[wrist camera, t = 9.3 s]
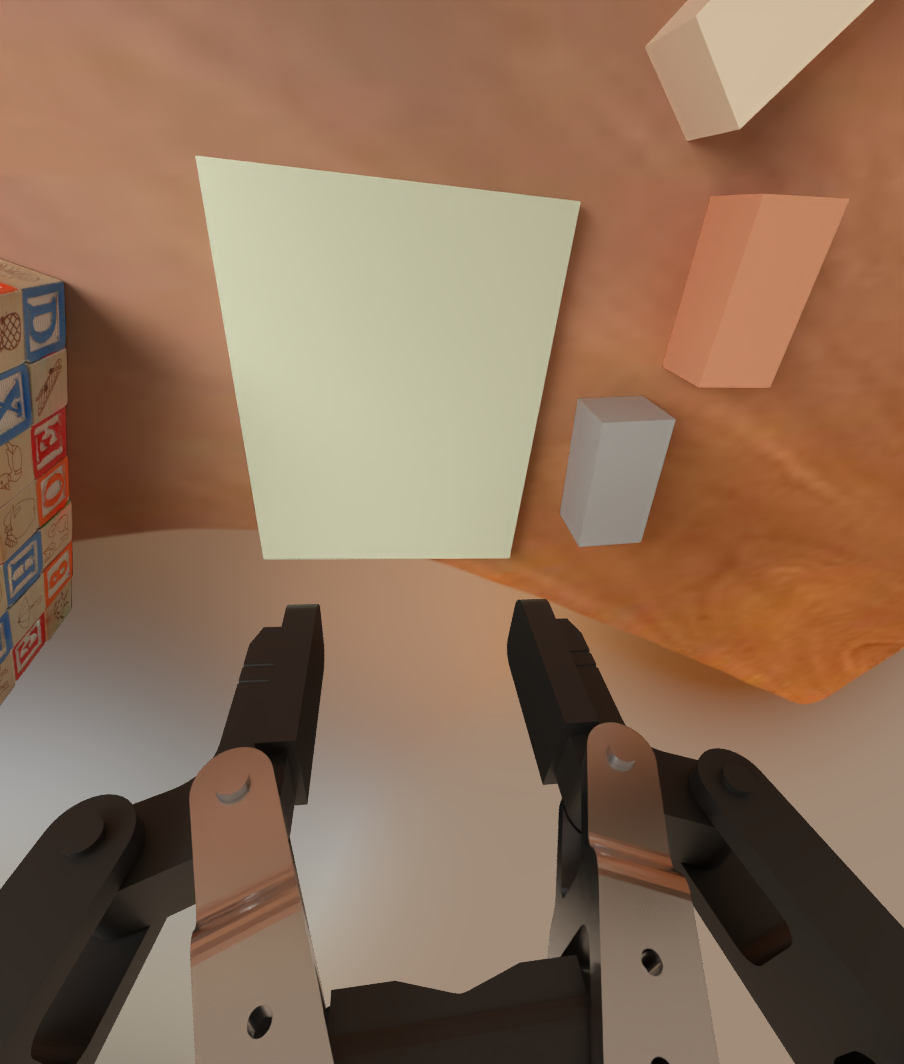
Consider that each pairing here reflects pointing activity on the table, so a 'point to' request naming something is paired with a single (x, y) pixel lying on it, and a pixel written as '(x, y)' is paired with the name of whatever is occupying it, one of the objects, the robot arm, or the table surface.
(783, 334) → the terracotta brick
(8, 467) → the stack of blocks
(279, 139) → the table surface
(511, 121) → the table surface
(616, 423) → the slate brick
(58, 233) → the table surface
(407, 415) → the sage baseplate
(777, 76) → the cream brick
